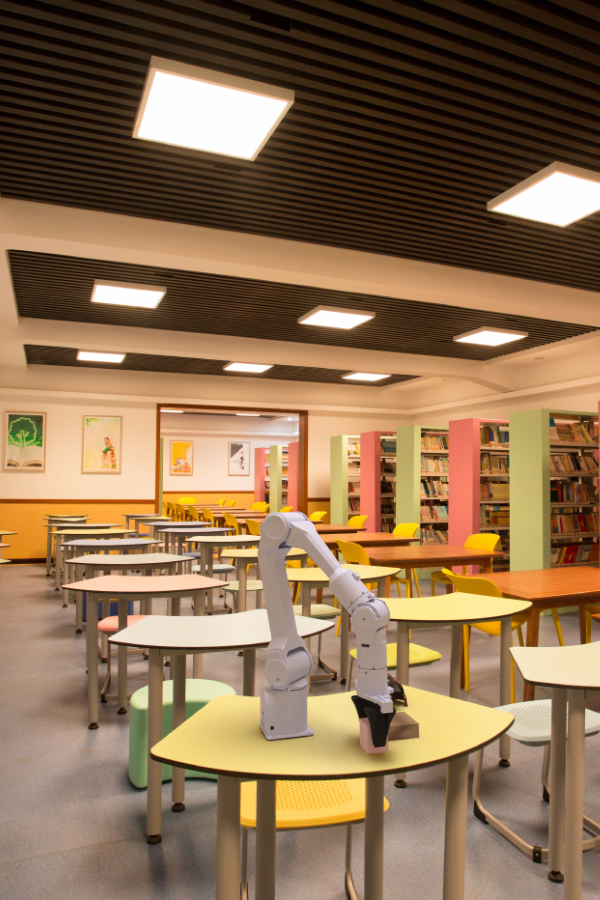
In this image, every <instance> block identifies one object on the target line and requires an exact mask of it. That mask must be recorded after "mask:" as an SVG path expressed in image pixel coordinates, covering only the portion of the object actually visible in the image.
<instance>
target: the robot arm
mask: <svg viewBox="0 0 600 900" xmlns="http://www.w3.org/2000/svg"><path fill="white" fill-rule="evenodd" d="M260 523H261V524H260V525H259V526H258V527H259V534H260V538H259V544H258V547H257V548H258V549H257V561H258V566H259V573H260V577H261V578H260V579H261V583H262V590H263V597H264V600H265V601H264V603H265V608H266V609H265V610H266V613H267V620H268V624H269V625H268V626H269V631H270V638H271V639H270V641H269V643H268V645H267V647H266V650H265V666H264V674H265V675H264V676H265V678H266V681H267V683H268V684H269V686H267V687H265V686H264V687H262V688H261V689H260V693H259V695H260V697H259V699H260V700H259V701H260V702H259V703H260V704H259V705H260V714H259V715H260V717H259V718H260V723H259V727H260V729H261V731H262V732H263V735H264V737H265V739H266V740H267V741H272V740H280V739H287V738H291V739H292V738H297V737H298V738H299V737H307V736H314V735H315V734H314V731H313V729H312V728H311V727H310V725H309V724H308V676H309V675H310V674H311V672H312V671H313V667H314V663H313V662H314V661H313V657H312V655H311V653H310V652H309V650H308V648H307V645H306V641H305V639H304V638H303V637H302V636H300V635H299V634H298V630H297V629H298V628H297V623H296V618H295V612H294V606H293V600H292V595H291V590H290V583H289V577H288V573H287V567H286V561H285V559H286V556H287V555H288V554H289V553H290V551H291V549H292V548H297V549H301V550H303V551H304V552H305V553H306V554H307V555H308V557H310V559H311V560H312V561H313V562H314V563H315V564H316V565H317V567H318V568H319V569H320V570H321V571H322V572H323V573H324V575H326V576H327V578H328V581H329V582H328V588H329V590H330V591H331V593H333V595H334V596H335V597H336V599H337V600H338V601H339V602H340V604H341V605H342V606H343V608H344V609H345V610H346V611H347V613H348V614H349V615H351V616H350V617H349V621H350V626H351V627H352V629H353V630H354V631H355V636H356V637H355V639H356V640H355V643H356V646H355V647H356V649H355V650H356V651H355V652H356V679H354V690H355V693H356V694H353V695H351V696H350V699H351V701H352V703H353V705H354V707H355V710H356V713H357V717H358V721H359V723H360V720H359V719H360V718H368V720H369V724H370V729H371V737H372V742H373V746H374V747H375V748H377V747H385V745H386V741H387V736H388V731H389V727H390V724H391V721H392V719H393V717H394V715H395V714H396V712H397V709H396V707H394V702H393V701H394V700H393V701H392V700H391V699H390V693H393V692H394V690H393V688H391V687H389V686H388V683H387V681H388V680H387V673H388V654H387V651H388V650H387V627H386V626H387V625H388V624H389V622H390V619H391V611H390V609H389V607H388V605H387V603H386V601H385V600H383V599H381V598H378V597H376V594H375V593H374V592H370V590H369V589H368V587H367V586H365V584H364V582H363V581H362V580H361V579H360V578H361V575H360V574H359V572H358V571H353V569H352V568H346V567H343V566H342V565H341V563H340V562H339V561H338V559H337V558H336V557H335V555H334V554H333V551H331V550H330V548H329V547H328V545H327V544H326V543H325V541H324V540H323V539H322V537H321V536H320V534H319V533H318V532H317V529H316V526H315V524H314V523H313V522H312V521H310V520H309V518H308V516H307V515H306V514H304V513H303V512H301V511H290V512H288V511H287V512H279V511H272V512H270V513H268V514H267V515H266V516H265V517H264V519H263V520H262V521H261V522H260Z"/></svg>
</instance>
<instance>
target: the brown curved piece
mask: <svg viewBox="0 0 600 900" xmlns="http://www.w3.org/2000/svg"><path fill="white" fill-rule="evenodd" d="M387 683H388V686H389V687H391V688H393V690H394V692H393V693H390V699H391V700H392V701H403V703H404V704H405V707H408V706H409V705H408V698H407V695H406V693H405V690H404V687H403V685H402V683H401V682H400V680H399V679H398V678H396V677H394V676H392V674H391V673H389V672H387Z"/></svg>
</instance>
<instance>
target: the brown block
mask: <svg viewBox="0 0 600 900" xmlns="http://www.w3.org/2000/svg"><path fill="white" fill-rule="evenodd" d="M419 724H420V723H419V722H418V721H417V720H416V719H414V718H413V717H412V716H410V715H409V714H408V713H407V712H406V711H398V712H397V711H396V714H395V715H394V717H393V719H392V721H391V724H390V727H389V731H388V742H392V741H393V742H394V741H401V740H410V739H419V738H420V725H419Z"/></svg>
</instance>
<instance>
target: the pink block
mask: <svg viewBox="0 0 600 900" xmlns="http://www.w3.org/2000/svg"><path fill="white" fill-rule="evenodd" d="M359 720H360V722H359V747H361V749H363V751H364V752H365V753H366V754H367V755H372V754H373V755H374V754H380V753H381V754H382V753H387V752H389V741H388V736H387V741H386V745H385V747H377V748H375V747H374V746H373V742H372V737H371V729H370V724H369V720H368V718H360V719H359V718H358V721H359Z"/></svg>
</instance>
